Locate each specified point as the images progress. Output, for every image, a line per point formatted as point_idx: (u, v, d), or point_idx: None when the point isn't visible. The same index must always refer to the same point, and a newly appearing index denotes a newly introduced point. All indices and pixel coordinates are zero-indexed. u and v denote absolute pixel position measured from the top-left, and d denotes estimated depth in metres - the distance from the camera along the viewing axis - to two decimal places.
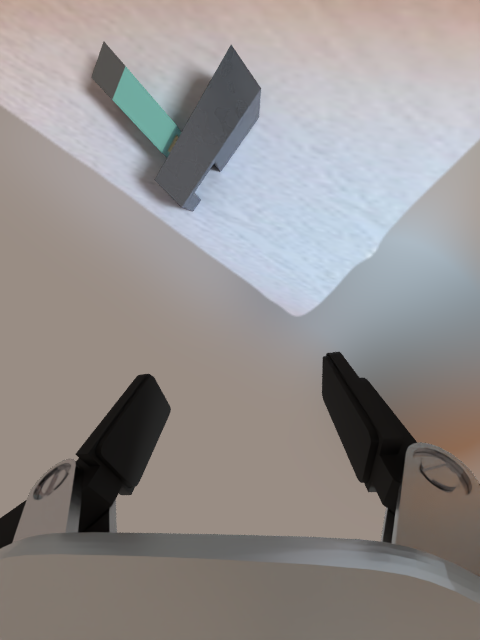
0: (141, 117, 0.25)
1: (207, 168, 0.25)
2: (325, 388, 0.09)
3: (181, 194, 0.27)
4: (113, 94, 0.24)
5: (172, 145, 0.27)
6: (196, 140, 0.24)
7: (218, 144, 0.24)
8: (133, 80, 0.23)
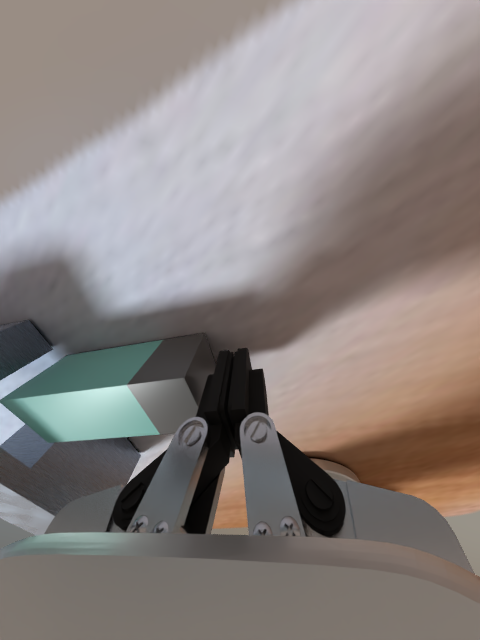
0: (74, 408, 0.09)
1: None
2: None
3: None
4: (133, 392, 0.09)
5: None
6: None
7: None
8: (136, 431, 0.10)
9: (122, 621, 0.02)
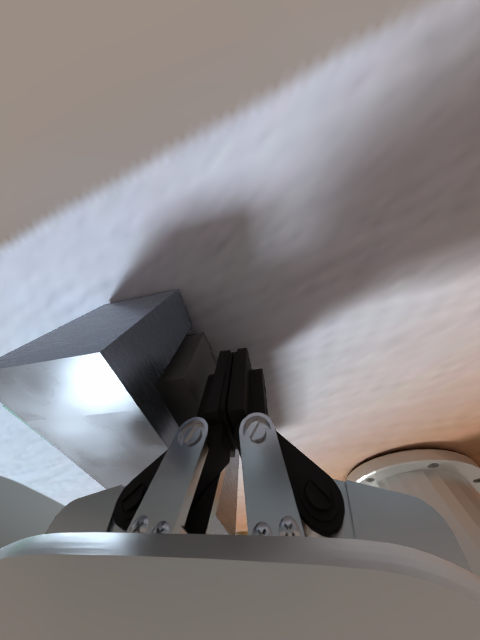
0: None
1: None
2: None
3: (22, 399, 0.06)
4: None
5: None
6: None
7: None
8: None
9: (122, 621, 0.02)
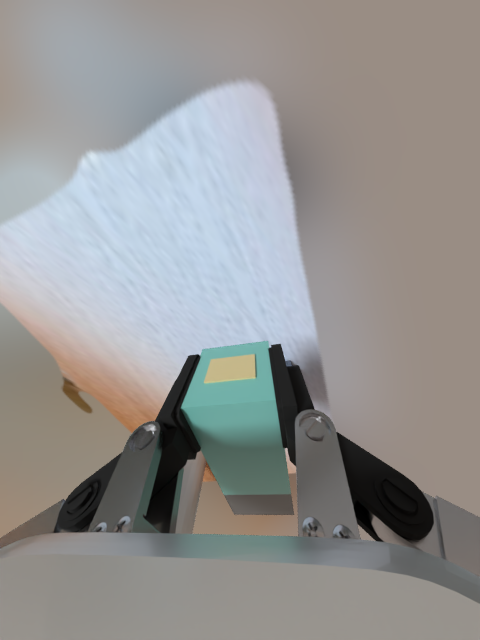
0: (260, 459, 0.09)
1: None
2: None
3: None
4: (282, 495, 0.10)
5: (233, 374, 0.08)
6: None
7: None
8: (225, 483, 0.10)
9: (122, 621, 0.02)
